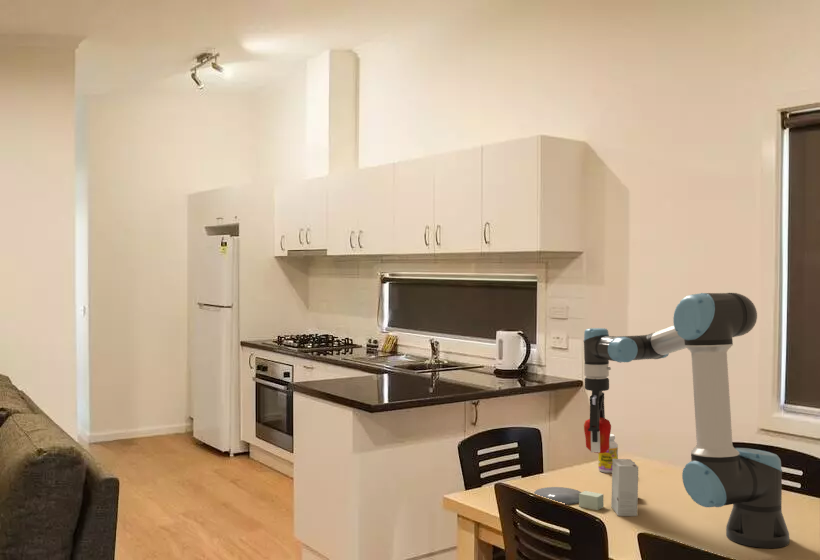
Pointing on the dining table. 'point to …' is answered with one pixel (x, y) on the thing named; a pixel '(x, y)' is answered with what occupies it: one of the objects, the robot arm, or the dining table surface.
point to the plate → (560, 494)
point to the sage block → (591, 500)
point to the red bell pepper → (604, 434)
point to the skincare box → (624, 487)
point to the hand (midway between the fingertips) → (597, 448)
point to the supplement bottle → (608, 456)
